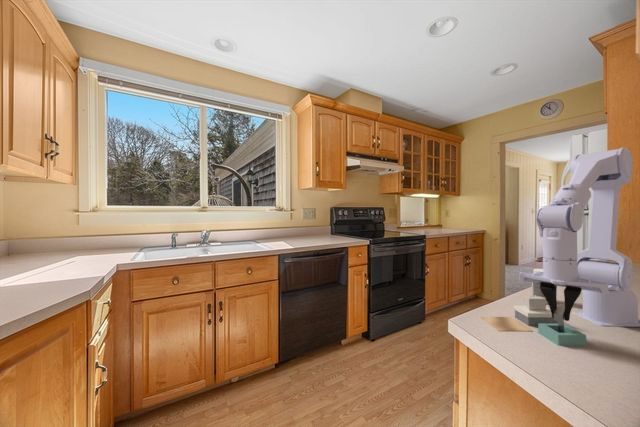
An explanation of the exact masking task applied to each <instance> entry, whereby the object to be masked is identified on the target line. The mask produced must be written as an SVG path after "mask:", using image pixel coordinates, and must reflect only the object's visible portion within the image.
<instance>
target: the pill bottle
mask: <svg viewBox="0 0 640 427" xmlns="http://www.w3.org/2000/svg"><path fill="white" fill-rule="evenodd" d="M532 273H542V274H543V268H534V269H533V272H532ZM531 293H532V294H531V295H532V296H531V297H543V298H545V296H544V295H543V293H542V292H541V290H540V283H535V282H531ZM545 299H546V298H545ZM546 305H549V304H548V302H547V300H546Z"/></svg>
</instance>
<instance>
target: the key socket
mask: <svg viewBox="0 0 640 427" xmlns="http://www.w3.org/2000/svg"><path fill="white" fill-rule="evenodd" d="M537 327H538V329H537V330H538V331H536V333H537V334H539V335H541V337H544V338H546V339H547V340H548V341H550V342H551V343H553V344H554V345H557V346H558V347H589V346H588V345H587V334H584V333H583V332H581V331H579V330H576V328H575V329H574V328H573V327H571V326H570V325H567V324H565V323H564V333H559V332H558V324H544V323H538V326H537Z"/></svg>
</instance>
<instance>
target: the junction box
mask: <svg viewBox="0 0 640 427" xmlns="http://www.w3.org/2000/svg"><path fill="white" fill-rule="evenodd" d="M514 319H516V320H517V321H519V322H520V323H521V322H522V324H523V323H524V324H525V326H526V325H527V327H538V323H544V324H558V321H556V320H554V318H552V317H527V316H525V315H523V314H521V313H520V312H518V311H516V310H514Z"/></svg>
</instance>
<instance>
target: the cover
mask: <svg viewBox="0 0 640 427" xmlns="http://www.w3.org/2000/svg"><path fill="white" fill-rule="evenodd" d="M512 307H513V310H514V311H515V310H516V311H518V312H520V313H521V314H523V315H525V316H527V317H552V313H551V310H550V307H548V306H547V304H546V299H545V298H543V297H532V296H524V305H520V304H519V305H513V306H512Z"/></svg>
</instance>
